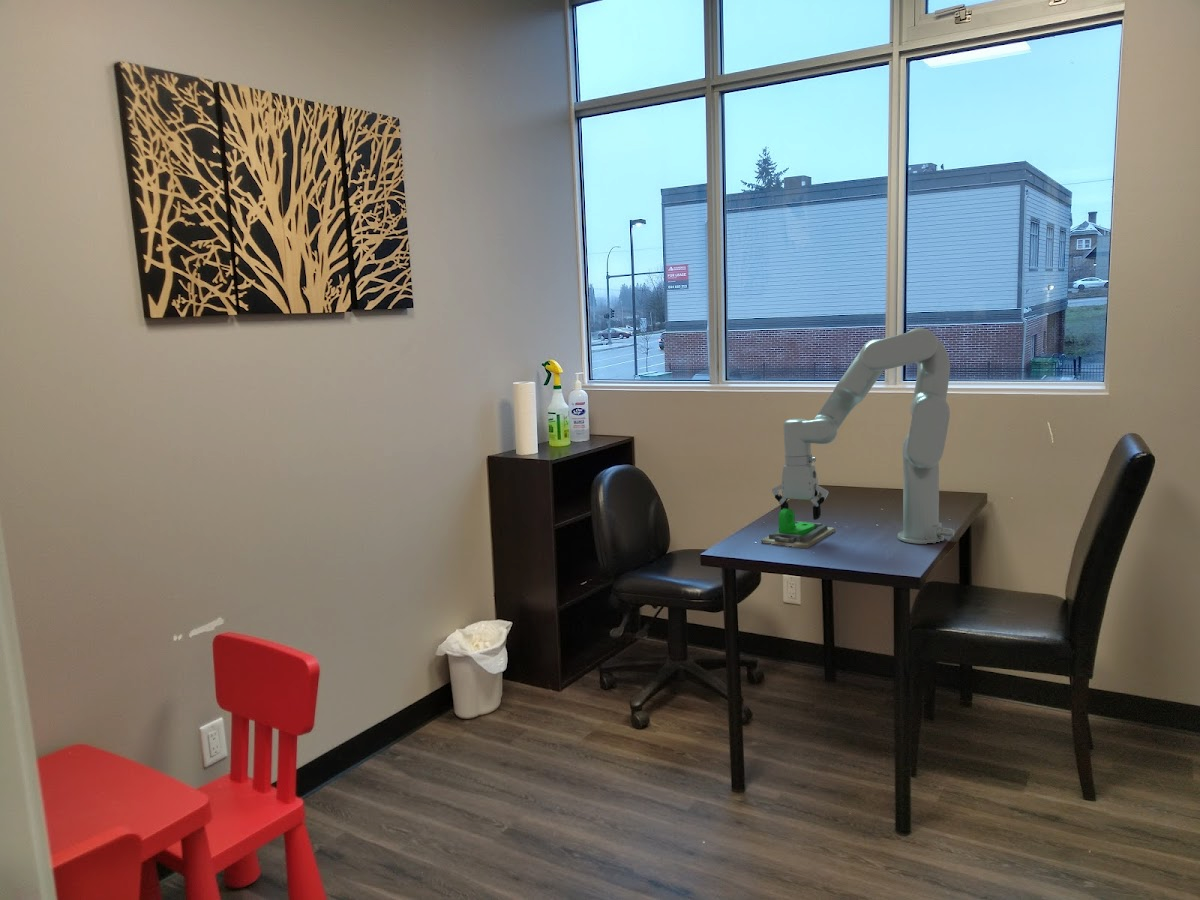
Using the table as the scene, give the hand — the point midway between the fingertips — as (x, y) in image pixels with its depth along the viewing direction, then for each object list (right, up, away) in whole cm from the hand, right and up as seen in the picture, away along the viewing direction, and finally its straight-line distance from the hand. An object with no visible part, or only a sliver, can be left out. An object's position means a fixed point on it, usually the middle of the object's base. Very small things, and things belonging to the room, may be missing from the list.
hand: (800, 517), depth 255 cm
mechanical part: (0, -5, +1) cm, 5 cm away
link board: (0, -6, +1) cm, 6 cm away
